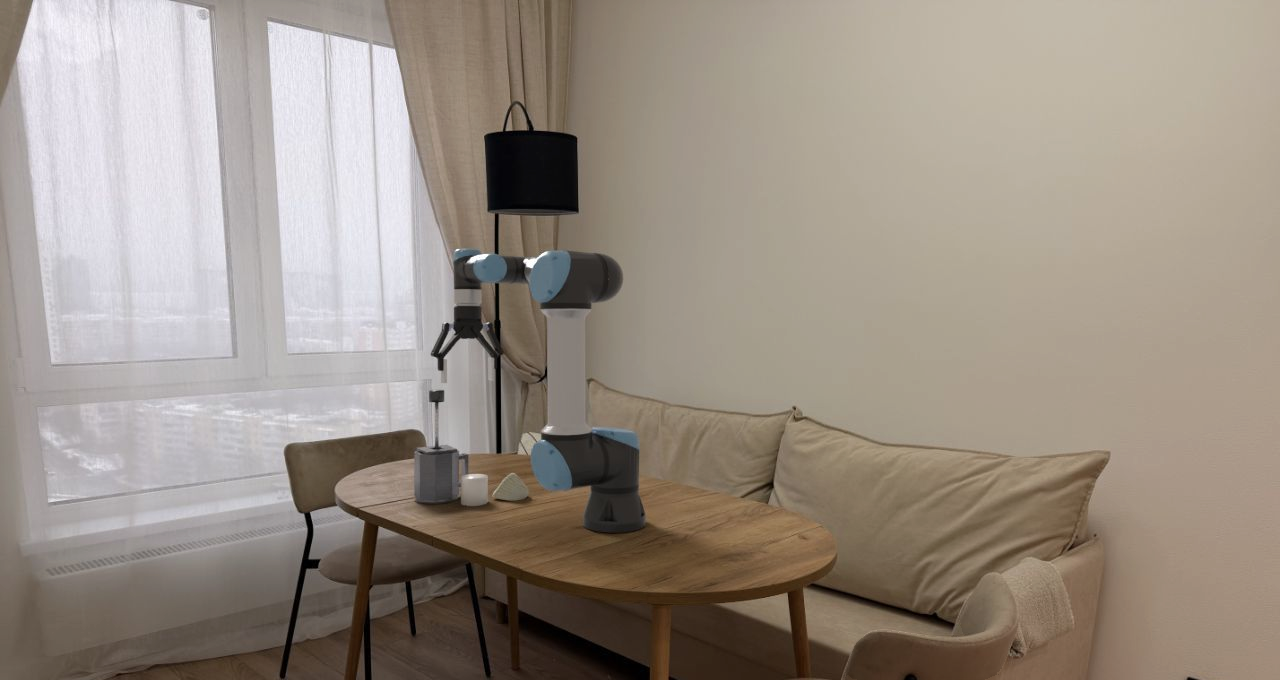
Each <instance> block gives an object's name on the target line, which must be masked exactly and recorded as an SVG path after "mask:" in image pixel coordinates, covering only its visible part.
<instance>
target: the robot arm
mask: <svg viewBox="0 0 1280 680" xmlns="http://www.w3.org/2000/svg"><path fill="white" fill-rule="evenodd" d="M452 262H453V263H452V265H453V303H454V304H455V305H454V307H453V323H449V322H443V323H442V324H441V325H442V326H441V331H440V333H439V335H438V337H437V340H436V341H435V344H434V346H433V348H432V350H431V352H430V356H431V357H434V358H436V359H437V370H438V371H439V372H440V383H442V384H448V358H445V357H446V356H448V355H447V354H449V353H450V351H451V350H452V349H453V347H454V346H455V345H456V343H458V342H459V340H460V339H462V340H465V339H466V340H467V339H470V340H477V341H478V343H479V344H480V345H481V346H482V347H483V348H484V350H485V351H486V353H487V354H488V355H489V356H490V357H487V380H488V381H490V382H495V370H497V368H498V358H499V357H500V356H503V355H504V350H503V348H502V346H501V344H500V342H499V340H498V338H497V335H496V334H495V331H494V325H493V323H492V322H486V323H483V322H482V319H483V318H482V309H483V308H482V307H481V306H480V305H481V304H482V302H483V301H482V297H483V296H482V295H483V294H482V284H515V285H517V284H518V285H529V291H530V293H531V297H532V298H533V300H535V302H537V303H539V304H540V307H539V309H540V310H539V311H540V312H541V313H542V314H543V315H544V316H545V317H546V331H547V332H546V335H547V336H546V337H547V340H546V341H547V343H546V344H547V347H546V348H547V349H546V350H547V352H546V353H547V355H546V356H547V357H546V359H547V360H546V361H547V365H546V366H547V368H546V369H547V373H546V374H547V423H546V424H545V426H544V427H543V428H542V429H541V430H540V434H541V435H540V439H539V440H537V441H536V442H535V443H534V444H533V445H532V448H531V451H530V464H531V468H532V472H533V475H534V477H535V478H536V480H537V481H538V484H540V486H541V487H542V488H544V489H545V490H547V491H550V492H558V491H559V492H560V491H563V492H566V491H569V490H574V489H580V488H584V487H589V490H590V491H589V495H588V498H587V502H586V505H585V508H584V512H583V514H582V526H583V527H584V528H585V529H587V530H590V531H594V532H599V533H609V534H610V533H613V534H614V533H615V534H617V533H629V532H635V531H639V530H641V529H643V528H645V527H646V525H647V524H646V523H647V520H646V519H647V516H646V512H645V508H644V504H643V501H642V498H641V495H640V490H639V489H640V487H639V486H640V451H641V448H640V437H639V435H638V434H637V433H636V432H635V431H632V430H628V429H622V428H615V427H606V426H605V427H603V426H595V427H594V426H593V427H590V426H589V425H588V423H587V422H586V317H587V316H588V315H589V314H590V313H591V311H592V310H593V309H592V304H593V303H594V304H597V303H598V304H599V303H604V302H607V301H610V300H612V299H613V298H615V296H617V295H618V293H619V292H620V290H621V289H622V287H623V283H624V273H623V270H622V267H621V265H620V264H619V263H618V261H617V260H616V259H615V258H613V257H611V256H609V255H607V254H605V253H599V252H598V253H597V252H586V251H577V250H576V251H574V250H562V249H560V250H548V251H544V252H543V253H541V254H540V255H539V256H517V255H516V256H515V255H514V256H513V255H501V254H500V255H499V254H497V253H489V252H487V253H483V254H482V251H481V250H480V249H477V248H458V249H455V250H454V253H453V261H452ZM452 329H453V331H454V333H453V335H452V336H451V338H450V339H449V340H448V342H446V343H445V341H446V338H447V336H448V335H449V332H450V331H451V330H452ZM483 329H484V331H486V334H487V336H488V338H489V341H490V343H491V345H490V343H489V342H488V341H487V339H486V338H485V336H484V335H483V334H482V332H481V331H482V330H483ZM444 343H445V345H444ZM443 345H444V347H443Z"/></svg>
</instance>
